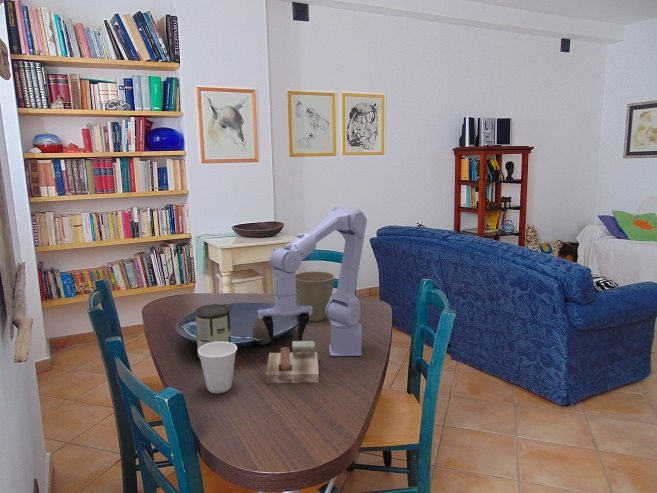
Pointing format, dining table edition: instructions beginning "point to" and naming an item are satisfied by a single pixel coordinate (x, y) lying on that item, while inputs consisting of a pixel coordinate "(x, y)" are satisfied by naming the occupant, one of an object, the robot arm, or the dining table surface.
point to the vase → (261, 331)
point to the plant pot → (314, 292)
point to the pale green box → (303, 346)
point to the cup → (218, 365)
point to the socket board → (293, 369)
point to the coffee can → (212, 324)
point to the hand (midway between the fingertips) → (286, 340)
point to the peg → (285, 359)
